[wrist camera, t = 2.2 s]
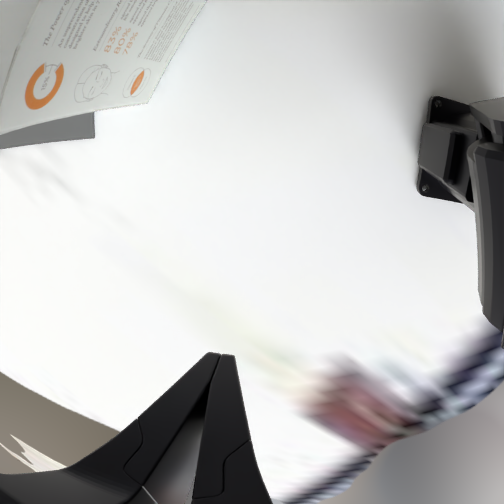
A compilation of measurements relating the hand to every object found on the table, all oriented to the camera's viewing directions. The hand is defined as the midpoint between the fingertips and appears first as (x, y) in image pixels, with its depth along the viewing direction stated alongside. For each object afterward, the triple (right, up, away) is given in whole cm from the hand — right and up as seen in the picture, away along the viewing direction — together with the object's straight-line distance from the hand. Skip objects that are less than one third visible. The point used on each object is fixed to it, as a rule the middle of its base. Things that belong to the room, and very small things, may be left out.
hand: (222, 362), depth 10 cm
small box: (-6, +17, +6) cm, 20 cm away
